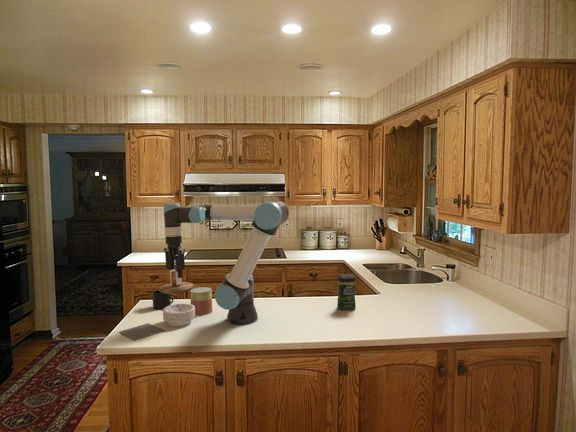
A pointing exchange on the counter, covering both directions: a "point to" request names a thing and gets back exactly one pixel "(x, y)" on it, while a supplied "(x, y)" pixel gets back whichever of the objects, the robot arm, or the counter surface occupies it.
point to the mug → (161, 300)
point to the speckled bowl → (179, 314)
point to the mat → (141, 331)
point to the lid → (175, 286)
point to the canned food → (201, 300)
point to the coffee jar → (346, 292)
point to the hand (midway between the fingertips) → (176, 283)
